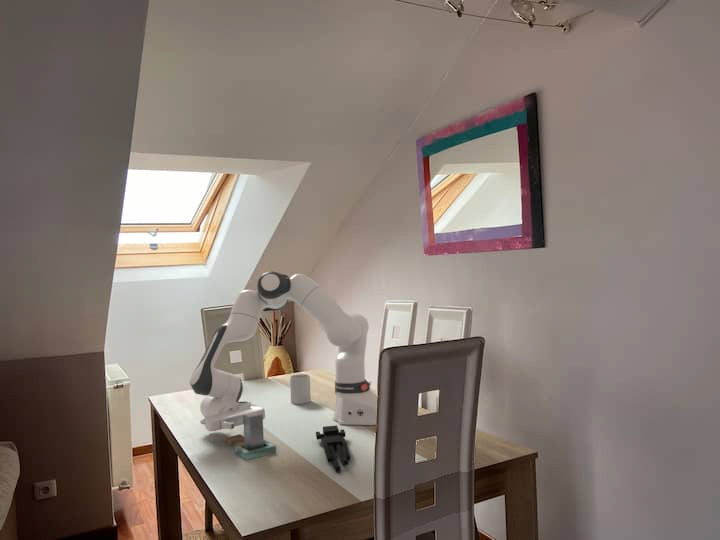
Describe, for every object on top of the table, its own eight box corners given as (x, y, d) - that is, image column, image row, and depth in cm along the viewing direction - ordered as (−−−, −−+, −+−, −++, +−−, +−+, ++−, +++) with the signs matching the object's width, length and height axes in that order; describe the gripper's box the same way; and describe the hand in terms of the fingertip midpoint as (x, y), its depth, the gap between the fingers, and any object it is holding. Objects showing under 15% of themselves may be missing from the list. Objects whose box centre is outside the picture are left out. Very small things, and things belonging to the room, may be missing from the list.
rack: (219, 443, 182) (219, 437, 182) (246, 437, 188) (246, 431, 188) (247, 460, 166) (246, 453, 166) (275, 452, 172) (275, 445, 172)
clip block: (244, 451, 173) (243, 414, 173) (257, 448, 176) (255, 411, 176) (251, 455, 170) (249, 417, 170) (264, 452, 173) (262, 414, 172)
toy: (359, 475, 154) (344, 438, 184) (358, 459, 154) (343, 424, 183) (325, 479, 152) (316, 440, 182) (325, 462, 152) (315, 426, 182)
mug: (313, 402, 231) (312, 377, 230) (293, 405, 228) (292, 379, 228) (306, 396, 242) (305, 372, 242) (287, 398, 239) (286, 374, 239)
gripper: (197, 411, 181) (214, 420, 170) (253, 400, 194) (272, 407, 183) (198, 430, 181) (215, 440, 171) (254, 417, 194) (273, 426, 183)
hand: (245, 423), depth 177 cm, fingers open, 8 cm apart
